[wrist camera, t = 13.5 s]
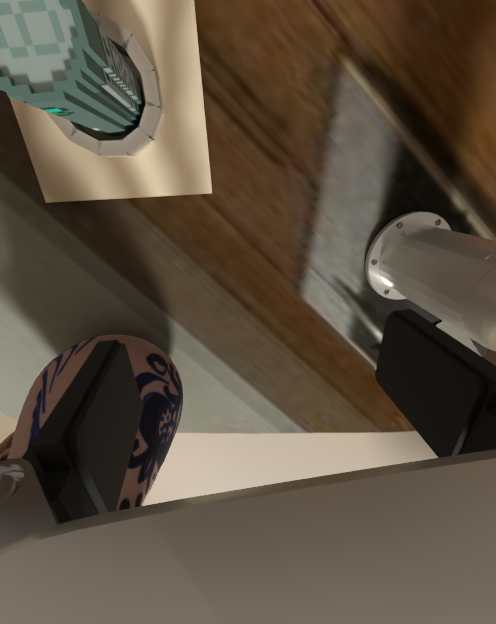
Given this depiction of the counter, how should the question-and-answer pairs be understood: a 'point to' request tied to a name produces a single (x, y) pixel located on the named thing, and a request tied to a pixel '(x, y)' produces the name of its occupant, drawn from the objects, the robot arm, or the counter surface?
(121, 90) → the can
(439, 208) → the counter surface
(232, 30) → the counter surface
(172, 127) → the socket board
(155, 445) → the ceramic pitcher
